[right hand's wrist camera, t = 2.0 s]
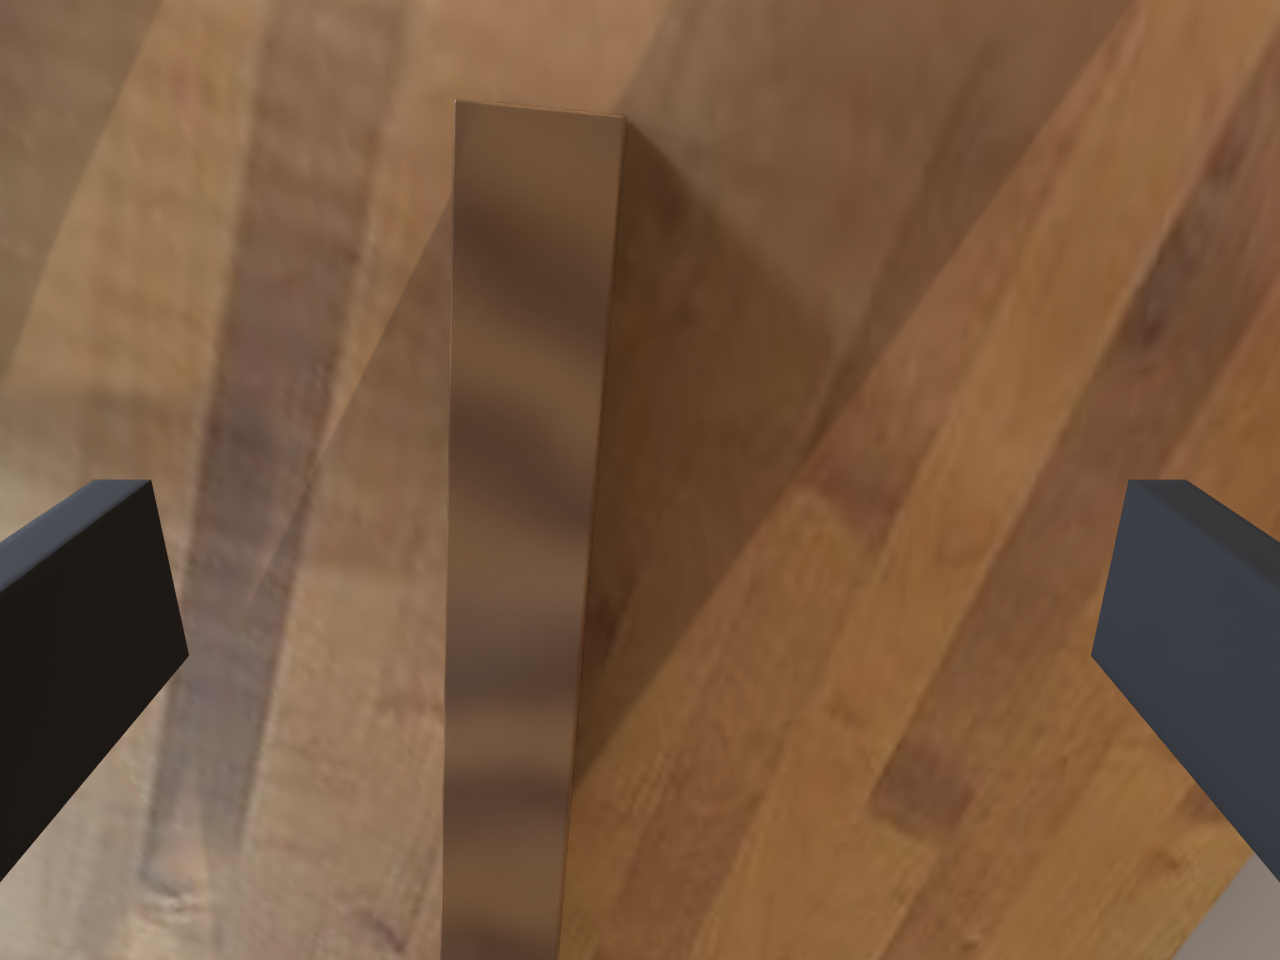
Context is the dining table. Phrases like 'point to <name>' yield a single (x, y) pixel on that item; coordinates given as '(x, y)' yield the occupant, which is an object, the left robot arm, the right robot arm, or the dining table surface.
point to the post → (521, 506)
